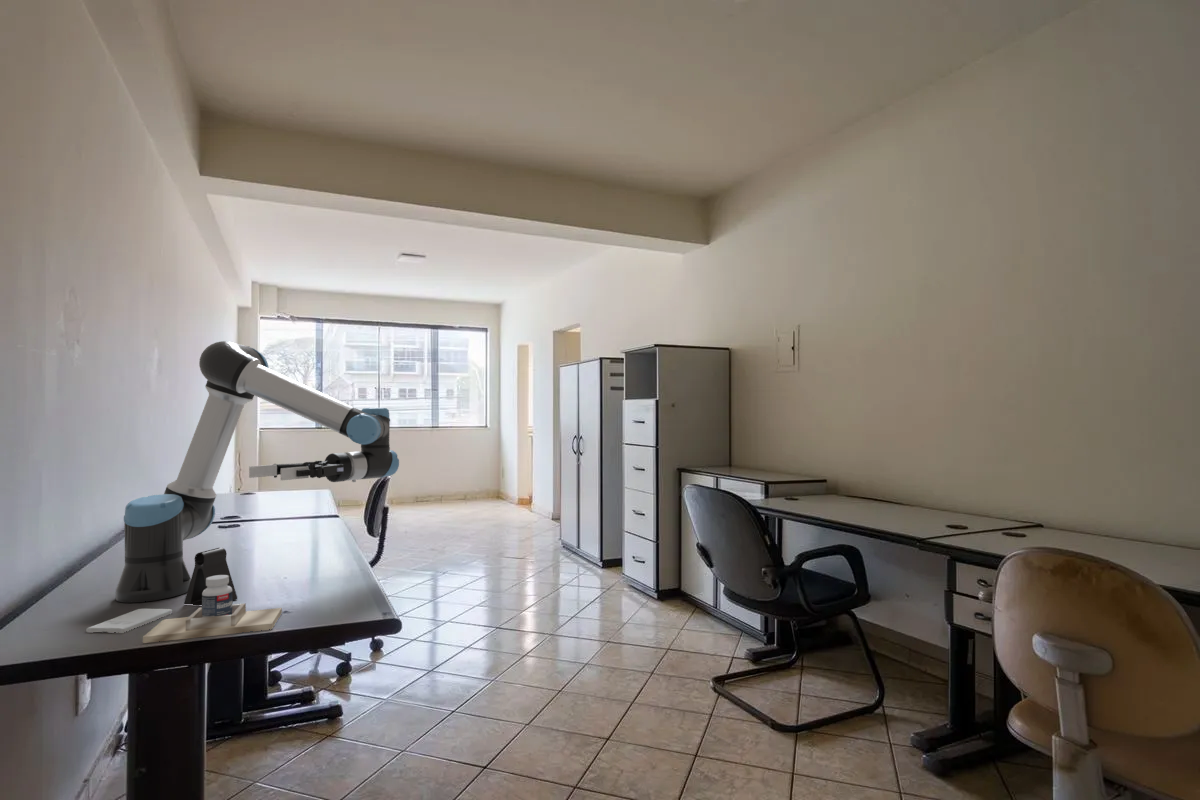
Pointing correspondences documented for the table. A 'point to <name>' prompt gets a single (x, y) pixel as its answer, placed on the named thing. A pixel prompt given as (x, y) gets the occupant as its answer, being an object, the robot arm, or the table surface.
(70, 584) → the table surface
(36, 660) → the table surface
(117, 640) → the table surface
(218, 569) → the phone stand
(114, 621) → the external hard drive
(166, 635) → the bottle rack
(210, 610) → the pill bottle
